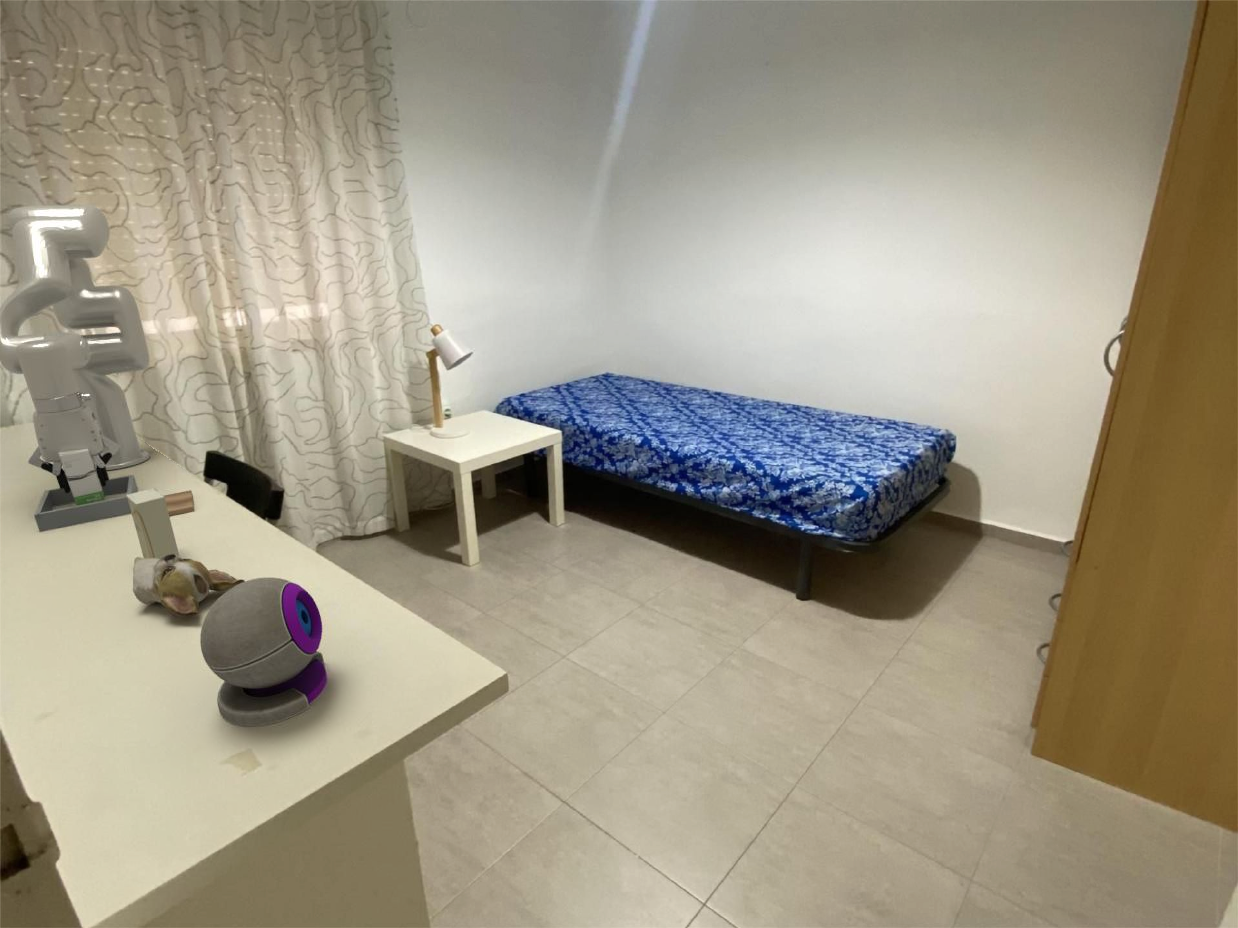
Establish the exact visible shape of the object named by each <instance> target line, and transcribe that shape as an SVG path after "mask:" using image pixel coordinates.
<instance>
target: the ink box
mask: <svg viewBox="0 0 1238 928" xmlns="http://www.w3.org/2000/svg"><path fill="white" fill-rule="evenodd" d="M58 454H59V456H60V460H61V463H62V469H63V470H64V472H65V475H66V477H67V480H68V483H69V486H70V489H71V492H72V494H73V497H74V500H75V502H74V503H75V506H78V505H84V504H89V503H94V502H99V501H105V500H106V496H105V497H104V493H103V489H102V486H101V483H100V480H99V477H98V474H97V471H96V467H95V464H94V461H93V459H92V457H91V455H90V452H89V450H88V449H80V450H71V451H63V452H58Z"/></svg>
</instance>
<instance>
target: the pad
mask: <svg viewBox="0 0 1238 928" xmlns="http://www.w3.org/2000/svg"><path fill="white" fill-rule="evenodd" d="M192 492H193V491H192V490H191V489H190V490H185V491H180V492H175V493H169V494H165V495H163V496H164V497H165V501H166V505H167V509H168V513H169V517H174V516H177V515H181V514H186V513H192V512H195V507H194V506H195V505H194V499H193V498H194V497H193V493H192Z"/></svg>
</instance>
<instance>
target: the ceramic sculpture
mask: <svg viewBox="0 0 1238 928" xmlns="http://www.w3.org/2000/svg"><path fill="white" fill-rule="evenodd" d="M179 556H180V555H179ZM179 556H177V555H175V554H171V555H167V556H165V557H163V558H161V559H157V558H144V557H140V556H136V557H135V558H134V562H133V563H134V564H133V570H132V571H133V574H132V575H133V576H132V592H133V593H134V596H135V598H136V599H137V600H138V601H139V602H140V603H142V604H145V605H147V606H148V605H153V604H156V603H161V605H162V607H163V608H165V609H166V610H167V611H168V612H169V613H171V614H172V615H174V616H176V617H184V618H186V617H191V616H196V615H198V614H199V612H198V611H199V603H200V602H201V601H203V600H204V599H205V598H206V597H207V596H208V595H209V592H210V591H212V592H218V593H219V592H227V591H228V590H230V589H231V588H233V587H235V586H236V585H238V584H241V583H243V582H246V580H245V579H241V578H240V579H237V578H235V577H234V576H232V575H230V574H229V573H227V572H225V571H220V570H218V569H210V570H208V568H207V567H206V566H205V564H203V563H202V562H201V561H197V560H194V559H192V558H182V557H181V556H180V557H179Z"/></svg>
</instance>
